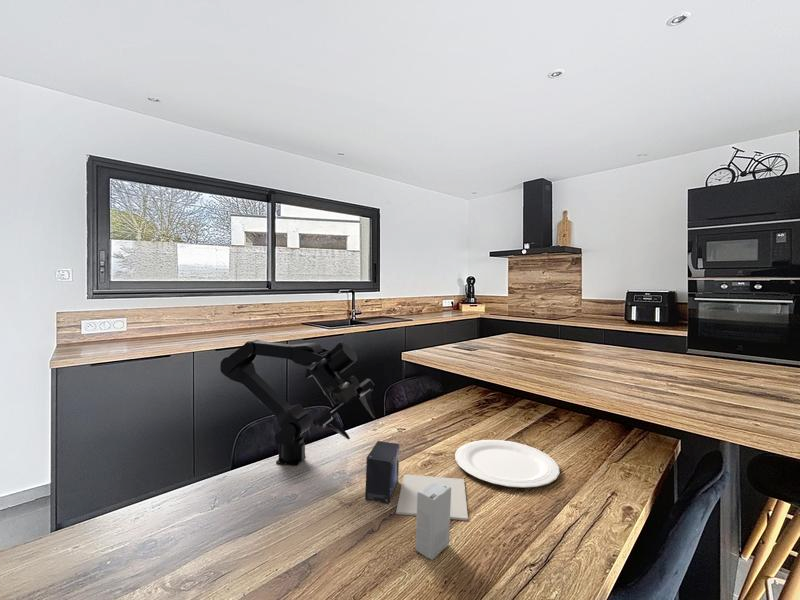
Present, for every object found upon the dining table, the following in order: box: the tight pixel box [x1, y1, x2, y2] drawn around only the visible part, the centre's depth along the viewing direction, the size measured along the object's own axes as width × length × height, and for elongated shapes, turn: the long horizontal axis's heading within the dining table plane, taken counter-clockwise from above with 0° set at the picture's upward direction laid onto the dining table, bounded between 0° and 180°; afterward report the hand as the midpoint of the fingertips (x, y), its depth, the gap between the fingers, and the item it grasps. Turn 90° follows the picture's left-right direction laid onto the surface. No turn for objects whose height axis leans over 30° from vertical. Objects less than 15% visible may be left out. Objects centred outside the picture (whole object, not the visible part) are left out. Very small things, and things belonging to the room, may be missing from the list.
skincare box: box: [414, 481, 451, 561], centre depth 74 cm, size 6×4×12 cm
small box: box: [364, 440, 400, 504], centre depth 94 cm, size 11×6×10 cm, turn 168°
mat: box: [395, 474, 469, 522], centre depth 93 cm, size 16×17×1 cm
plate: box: [454, 439, 560, 489], centre depth 110 cm, size 29×29×2 cm
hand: (362, 428), depth 104 cm, fingers open, 9 cm apart
